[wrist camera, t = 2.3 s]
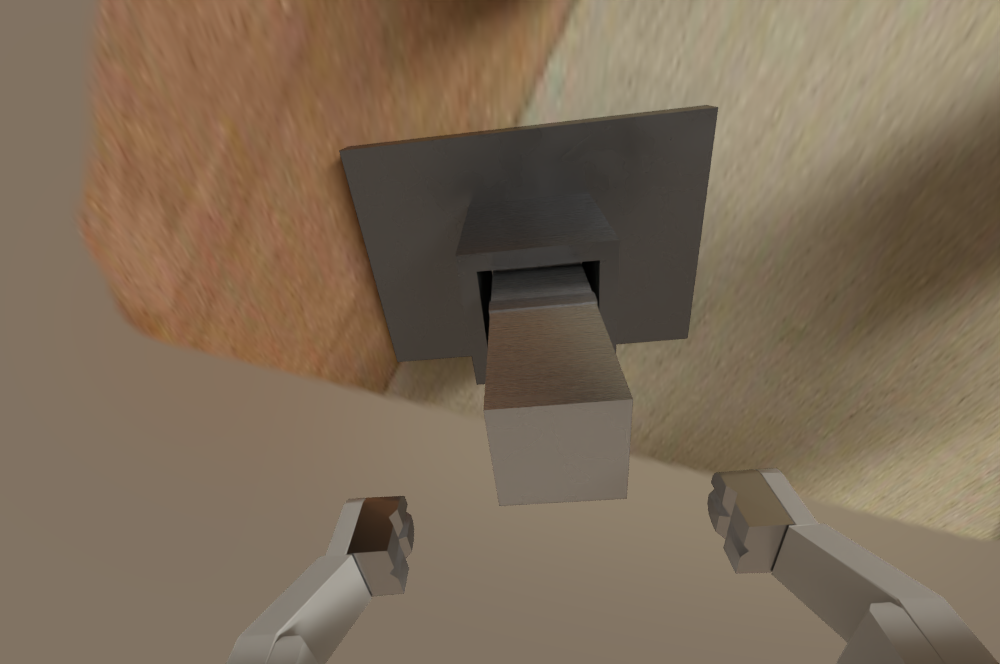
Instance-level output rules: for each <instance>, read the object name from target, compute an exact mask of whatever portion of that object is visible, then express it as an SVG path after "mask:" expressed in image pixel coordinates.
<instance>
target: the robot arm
mask: <svg viewBox="0 0 1000 664" xmlns="http://www.w3.org/2000/svg"><path fill="white" fill-rule="evenodd" d="M711 483H712V485H713V487H714V490H713V491H712V492H711V493H710V494H709V497H708V511H709V516H710V519H711V522H712V524H713V527H714V529H715V531H716V532H717V533H718V534H720V535H721V536H722V537H723V538H725V539H726V540H725V544H724V550H725V552H726V554H727V556H728V558H729V560H730V563H731V565H732V567H733V569H734V571H735V573H736V574H737V573H765V572H766V573H767V572H772V575H773V576H774V577H775V578H776V579H777V580H778V581H780V582H781V583H782V584H783V585H784V586H785V587H786V588H787V589H788V590H790V591H791V592H792V593H793V594H794V595H795V596H796V597H797V598H798V599H800V600H801V601H802V602H803V603H804V604H805V605H806V606H807V607H808V608H810V609H811V610H812V611H813V612H814V613H815V614H816V615H818V616H819V617H820V618H821V619H822V620H823V621H824V622H825V623H826V624H827V625H828V626H830V627H831V628H832V629H833V630H834V631H835V632H836V633H837V634H839V635H840V636H841V637H842V638H843V639H844V640H845V641H846V642H847V645H846V647H845V649H844V650H843V652H842V654H841V655H840V657H839V659H838V662H837V664H999V663H998V662H997V660H996V659H995V658H994V657H993V656H992V655H991V653H990V652H989V651H988V650H987V649H986V647H985V646H984V645H983V644H982V643H981V642H980V641H979V639H978V638H977V637H976V636H975V634H974V633H973V632H972V631H971V630H970V629H969V627H968V626H967V625H966V624H965V623H964V621H963V620H962V619H961V618H960V617H959V615H958V614H957V613H956V612H955V611H954V610H953V608H952V607H951V606H950V605H949V604H948V603H947V601H946V600H945V599H944V598H943V597H941V596H940V595H938V594H937V593H935V592H933V591H932V590H930V589H928V588H927V587H925V586H924V585H922V584H921V583H919V582H917V581H916V580H914V579H913V578H911V577H909V576H908V575H906V574H905V573H903V572H902V571H900V570H898V569H897V568H895V567H894V566H892V565H890V564H889V563H887V562H886V561H884V560H882V559H881V558H879V557H878V556H876V555H875V554H873V553H871V552H870V551H868V550H867V549H865V548H863V547H862V546H860V545H859V544H857V543H855V542H854V541H852V540H851V539H849V538H847V537H846V536H844V535H843V534H841V533H840V532H838V531H836V530H835V529H833V528H832V527H830V526H828V525H827V524H825V523H820V524H819V523H818V522H817V521H816V519H815V518H814V517H813V515H812V514H811V513H810V511H809V510H808V508H807V507H806V505H805V504H804V503H803V501H802V500H801V498H800V497H799V496H798V494H797V493H796V491H795V490H794V489H793V487H792V486H791V485H790V483H789V482H788V480H787V479H786V478H785V476H784V475H783V473H782V472H781V471H780V470H778V469H777V468H769V469H756V470H754V469H750V470H739V471H727V472H716V473H715V474H714V475H713V477H712V481H711ZM406 509H407V502H406V499H405V497H404V496H394V497H372V498H356V499H348V500H347V501H346V503H345V504H344V505H343V508H342V511H341V514H340V516H339V520H338V522H337V525H336V527H335V530H334V533H333V536H332V538H331V541H330V544H329V547H328V549H327V552H326V555H325V556H321V557H319V558H318V559H317V560H316V561H315V562H314V563H313V564H312V565H311V566H310V567H309V568H308V569H307V570H306V571H305V572H303V574H301V575H300V576H299V577H298V578H297V579H296V580H295V581H294V582H293V583H292V584H291V586H289V587H288V589H286V591H284V592H283V593H282V594H281V595H280V596H279V597H278V598H277V599H276V600H275V601H274V602H273V603H272V604H271V605H270V606H269V607H268V608H267V609H266V610H265V612H263V613H262V614H261V615H260V616H259V617H258V618H257V619H256V620H255V621H254V622H253V623H252V624H251V625H250V626H249V627H248V628H247V629H246V630H245V631H244V632H243V633H242V634H241V635H240V636H239V637H238V639H237V641H236V643H235V645H234V648H233V650H232V652H231V654H230V656H229V658H228V660H227V663H226V664H325V663H326V662H327V661H328V659H329V658H330V656H331V655H332V654H333V652H334V651H335V650H336V648H337V646H338V645H339V644H340V643H341V641H342V640H343V638H344V637H345V636H346V634H347V633H348V631H349V630H350V629H351V627H352V626H353V624H354V623H355V622H356V620H357V619H358V617H359V616H360V615H361V613H362V612H363V610H364V609H365V608H366V606H367V605H368V603H369V602H370V601H371V599H372V598H371V597H372V596H383V595H394V594H404V591H405V586H406V581H407V575H408V570H409V567H408V564H407V561H406V558H407V557H408V555H409V554H410V553H411V552H412V548H413V542H414V526H413V520H412V517H411V515H410V514H409V513H407V512H406Z"/></svg>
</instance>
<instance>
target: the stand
mask: <svg viewBox="0 0 1000 664" xmlns="http://www.w3.org/2000/svg"><path fill="white" fill-rule="evenodd" d="M717 112H718V107H714V106H709V105H704V106H695V107H686V108H678V109H669V110H660V111H652V112H643V113H634V114H626V115H617V116H609V117H600V118H591V119H583V120H574V121H565V122H557V123H548V124H539V125H531V126H522V127H514V128H505V129H496V130H488V131H479V132H470V133H462V134H453V135H444V136H436V137H427V138H418V139H410V140H401V141H393V142H384V143H375V144H367V145H358V146H349V147H346V148H344V149H342V150H340V151H339V152H340V155H341V159H342V163H343V166H344V170H345V173H346V177H347V181H348V184H349V188H350V192H351V195H352V199H353V202H354V206H355V210H356V213H357V217H358V220H359V224H360V228H361V231H362V235H363V239H364V242H365V246H366V249H367V253H368V257H369V260H370V264H371V267H372V271H373V275H374V278H375V282H376V286H377V289H378V293H379V296H380V300H381V304H382V307H383V311H384V314H385V318H386V322H387V325H388V329H389V333H390V336H391V340H392V343H393V347H394V351H395V354H396V358H397V361H398V362H403V361H416V360H428V359H440V358H452V357H465V356H472V359H473V365H474V371H475V377H476V383H477V385H478V384H485V381H486V366H487V352H488V337H489V322H490V316H489V301H491V293H492V279H493V275H492V270H500V269H511V268H521V267H532V266H543V265H553V264H564V263H574V262H582V267H583V270H584V272H585V275H586V277H587V280H588V283H589V285H590V288H591V291H592V292H594V294H595V296H596V299H597V306H598V309H599V312H600V314H601V317H602V319H603V322H604V325H605V327H606V330H607V332H608V335H609V338H610V340H611V343H612V346H613V348H614V351H615V353H616V344H624V343H637V342H649V341H661V340H673V339H686V338H687V337H688V330H689V322H690V315H691V307H692V300H693V292H694V285H695V277H696V270H697V262H698V255H699V247H700V240H701V232H702V225H703V217H704V210H705V202H706V195H707V187H708V180H709V172H710V165H711V157H712V150H713V142H714V135H715V127H716V120H717Z"/></svg>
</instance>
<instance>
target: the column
mask: <svg viewBox="0 0 1000 664" xmlns="http://www.w3.org/2000/svg"><path fill="white" fill-rule="evenodd" d="M492 275H493V279H492V293H491V301H489V316H490V322H489V337H488V352H487V366H486V381H485V396H484V416H485V422H486V428H487V435H488V441H489V447H490V453H491V458H492V465H493V471H494V476H495V483H496V489H497V495H498V501H499V506H506V505H524V504H540V503H558V502H575V501H592V500H609V499H626V498H627V486H628V470H629V454H630V439H631V423H632V407H633V398H632V395H631V393H630V390H629V388H628V385H627V382H626V380H625V377H624V374H623V372H622V369H621V367H620V364H619V361H618V359H617V356H616V353H615V351H614V348H613V346H612V343H611V340H610V338H609V335H608V332H607V330H606V327H605V325H604V322H603V319H602V317H601V314H600V312H599V309H598V306H597V299H596V296H595V294H594V292H592V291H591V288H590V285H589V283H588V280H587V277H586V275H585V272H584V270H583V267H582V262H574V263H564V264H553V265H543V266H532V267H521V268H511V269H500V270H492Z"/></svg>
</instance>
